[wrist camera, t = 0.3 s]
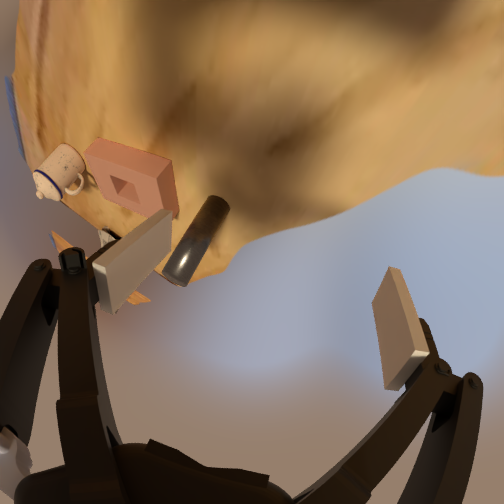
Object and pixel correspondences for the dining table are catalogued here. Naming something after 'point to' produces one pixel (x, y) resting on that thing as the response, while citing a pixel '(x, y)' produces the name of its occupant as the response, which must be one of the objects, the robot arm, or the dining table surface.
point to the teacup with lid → (59, 173)
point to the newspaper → (105, 236)
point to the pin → (196, 241)
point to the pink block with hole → (133, 177)
